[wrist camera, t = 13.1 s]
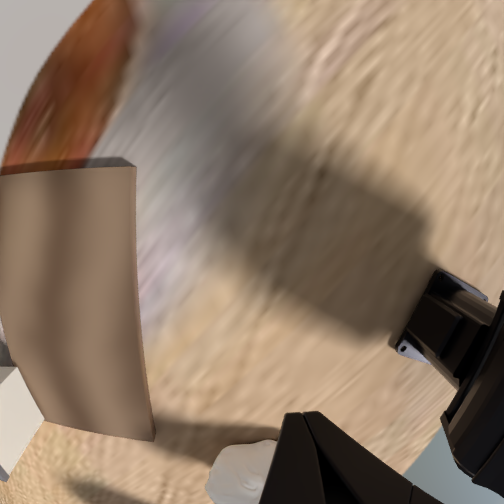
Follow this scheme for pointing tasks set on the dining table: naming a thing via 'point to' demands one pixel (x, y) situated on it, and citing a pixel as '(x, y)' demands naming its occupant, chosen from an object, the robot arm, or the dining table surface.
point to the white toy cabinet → (15, 419)
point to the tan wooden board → (75, 297)
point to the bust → (240, 473)
